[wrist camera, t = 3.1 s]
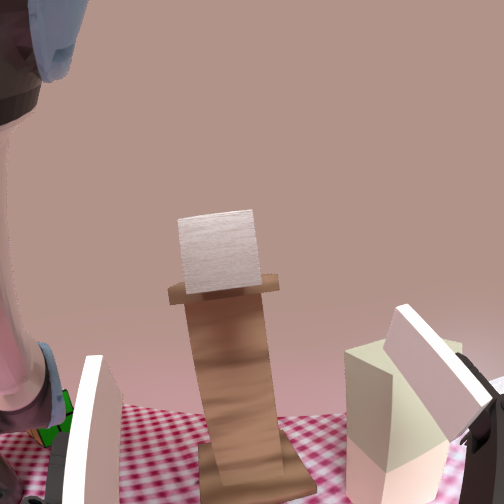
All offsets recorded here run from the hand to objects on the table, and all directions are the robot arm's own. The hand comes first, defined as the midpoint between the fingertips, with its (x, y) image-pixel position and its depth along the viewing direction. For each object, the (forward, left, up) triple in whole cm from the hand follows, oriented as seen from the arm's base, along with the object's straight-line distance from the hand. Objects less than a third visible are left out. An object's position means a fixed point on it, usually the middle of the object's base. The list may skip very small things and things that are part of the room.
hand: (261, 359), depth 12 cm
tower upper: (0, +16, -15) cm, 22 cm away
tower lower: (0, +16, -25) cm, 30 cm away
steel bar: (-15, +9, +3) cm, 18 cm away
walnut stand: (-20, +11, -25) cm, 34 cm away
